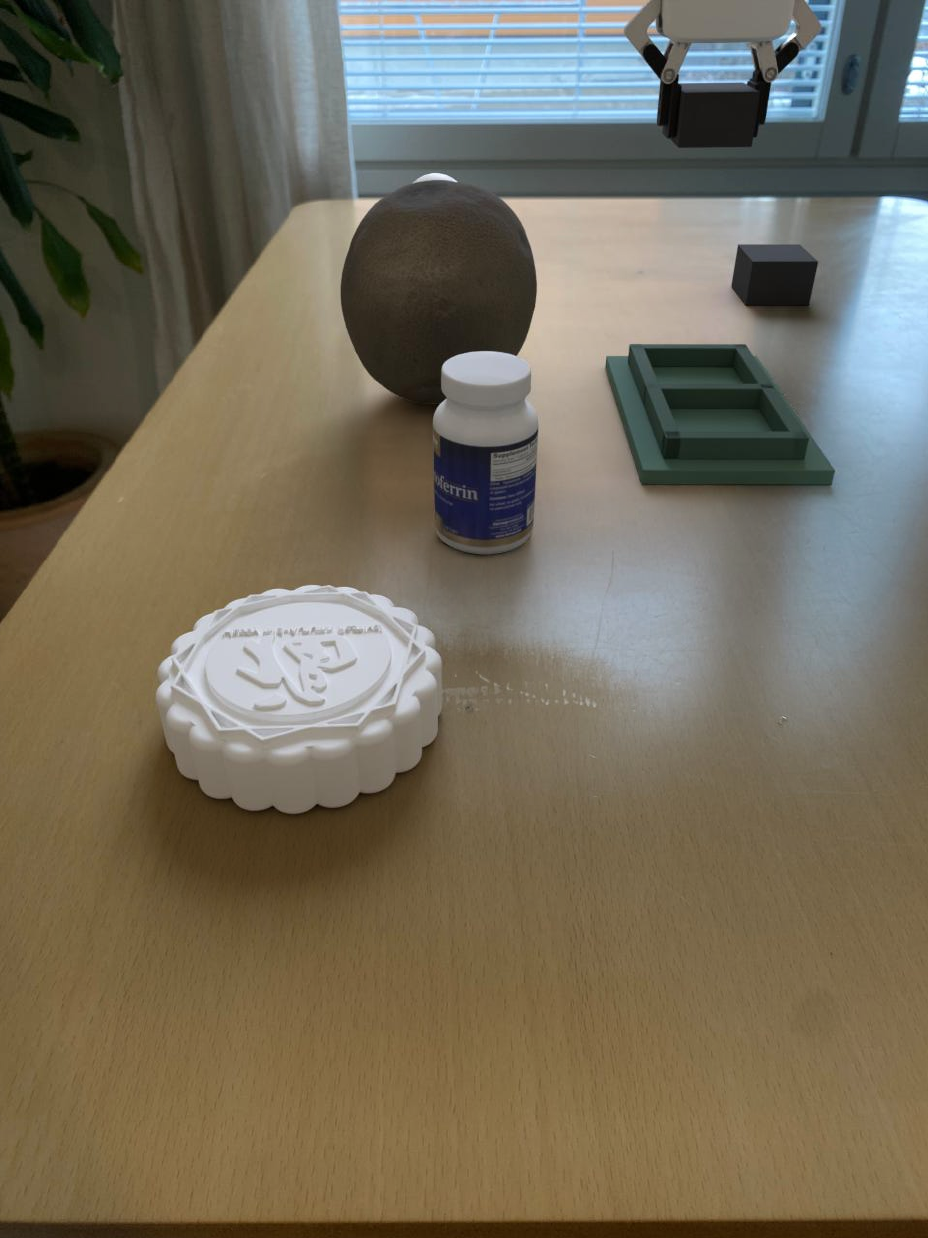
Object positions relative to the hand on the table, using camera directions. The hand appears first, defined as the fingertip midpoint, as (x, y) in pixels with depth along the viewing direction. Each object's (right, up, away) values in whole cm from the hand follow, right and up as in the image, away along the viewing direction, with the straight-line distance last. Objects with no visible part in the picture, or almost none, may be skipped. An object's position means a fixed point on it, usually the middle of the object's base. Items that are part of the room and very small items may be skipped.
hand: (708, 133), depth 79 cm
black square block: (0, -1, 0) cm, 1 cm away
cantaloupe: (-22, -25, -9) cm, 35 cm away
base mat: (-3, -27, -12) cm, 29 cm away
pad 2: (+9, -10, +12) cm, 18 cm away
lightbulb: (-23, -10, +11) cm, 28 cm away
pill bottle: (-19, -36, -24) cm, 48 cm away
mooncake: (-28, -45, -37) cm, 65 cm away
